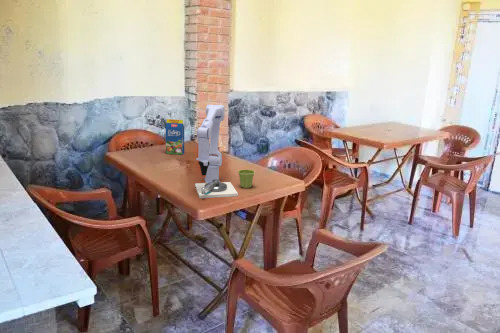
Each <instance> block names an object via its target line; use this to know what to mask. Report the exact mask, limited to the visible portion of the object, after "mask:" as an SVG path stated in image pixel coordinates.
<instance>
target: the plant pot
mask: <svg viewBox="0 0 500 333" xmlns="http://www.w3.org/2000/svg"><path fill="white" fill-rule="evenodd" d="M237 173H238V176H239V183H240V184H239V185H240V188H243V189H250V188H252V186H253V185H252V184H253V180H254V175H255V173H256V171H255V170H252V169H239V170H238V171H237Z"/></svg>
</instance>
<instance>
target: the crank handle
mask: <svg viewBox="0 0 500 333" xmlns="http://www.w3.org/2000/svg"><path fill="white" fill-rule="evenodd" d="M219 181H220V179H219V180H217V179H214V180H213V181H212V182H210V183H206V182H205V183H206V184H205V187H204V188H201V194H205V193H207V192H208V191H212V192H220V191H224V190H226V189H227V185H226V184H225V183H221V181H220V182H219Z"/></svg>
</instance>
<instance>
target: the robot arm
mask: <svg viewBox="0 0 500 333" xmlns="http://www.w3.org/2000/svg"><path fill="white" fill-rule="evenodd" d="M225 112H226V110H225V106H224V104H221V105H219V104H209V103H208V104H207V105H206V107H205V113H206V114H205V115H206V118H204V119H203V120H202V123H201V124H200V126H199V127H198V128H197V129H196V138H197V139H196V140H197V143H198V149H197V150H198V152H197V154H198V157H196V158H195V161H198V165H199V168H200V174H201V176H203V177H204V176H205V177H204V181H205V183H210V182H212V181H213V180H214V179H217V180H219V182H221V181H220V178H219V177H220V171H219V170H220V167H221V166H222V165H223V164H222V163H223V154H222V153H221V151H219V150H218V149H219V141H220V140H219V138H220V128H221V126H220V125H221V123H222V122H223V121H224V119H225V114H226V113H225Z"/></svg>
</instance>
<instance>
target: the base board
mask: <svg viewBox="0 0 500 333" xmlns="http://www.w3.org/2000/svg"><path fill="white" fill-rule="evenodd" d="M220 182H221V181H220ZM221 183H225V184H226V185H227V189H226V190H224V191H220V192H212V191H208V192H207V193H205V194H201V188H204V187H205V184H206V182H202V183H198V182H197V183H194V188H195V187H196V188H195V190H196V192H197V195H198V198H199V199H211V198H214V199H215V198H231V197H238V196H239V193H238V191H237V190H236V189H235V187H234V185H233V184H232V182H231V181H224V182H223V181H222V182H221Z"/></svg>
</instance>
